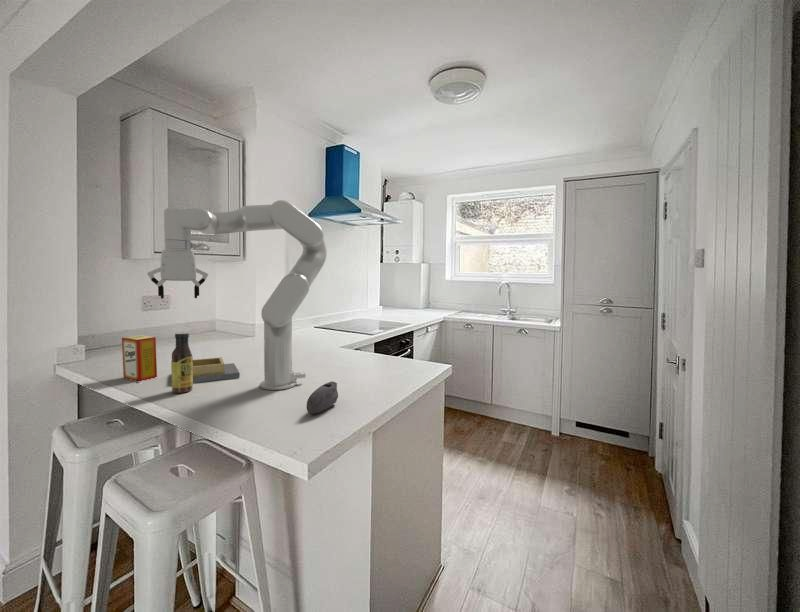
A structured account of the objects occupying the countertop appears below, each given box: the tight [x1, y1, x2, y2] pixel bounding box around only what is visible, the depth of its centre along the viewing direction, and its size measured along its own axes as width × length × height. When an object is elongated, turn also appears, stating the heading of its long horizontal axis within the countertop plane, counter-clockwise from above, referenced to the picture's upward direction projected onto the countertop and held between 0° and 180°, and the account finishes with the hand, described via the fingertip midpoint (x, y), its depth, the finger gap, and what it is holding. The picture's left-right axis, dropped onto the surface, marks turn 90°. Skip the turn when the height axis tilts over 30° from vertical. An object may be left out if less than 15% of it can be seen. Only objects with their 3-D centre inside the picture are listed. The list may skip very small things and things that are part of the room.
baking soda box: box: [121, 334, 158, 382], centre depth 142 cm, size 10×6×16 cm
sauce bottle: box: [170, 332, 194, 394], centre depth 127 cm, size 6×6×20 cm
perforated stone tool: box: [306, 380, 339, 415], centre depth 112 cm, size 15×5×7 cm, turn 158°
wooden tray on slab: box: [193, 356, 240, 384], centre depth 147 cm, size 22×18×6 cm
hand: (179, 298), depth 125 cm, fingers open, 9 cm apart
